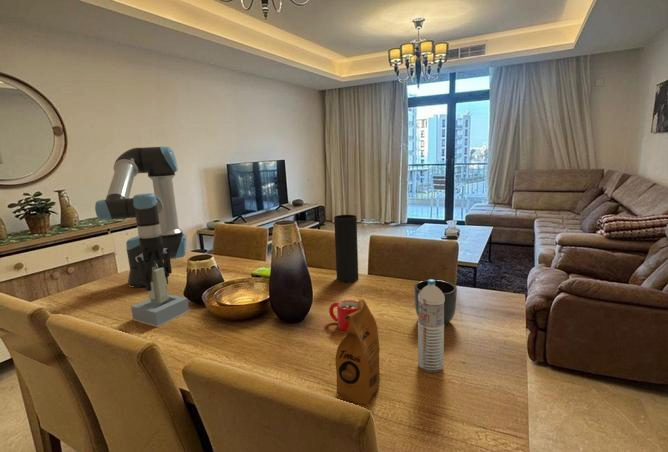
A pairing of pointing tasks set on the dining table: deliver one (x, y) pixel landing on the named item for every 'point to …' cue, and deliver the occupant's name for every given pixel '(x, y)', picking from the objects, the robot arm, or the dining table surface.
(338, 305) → the mug
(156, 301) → the box
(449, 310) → the planter
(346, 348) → the coffee package
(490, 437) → the dining table surface
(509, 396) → the dining table surface
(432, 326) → the water bottle
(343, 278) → the vase
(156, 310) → the socket
